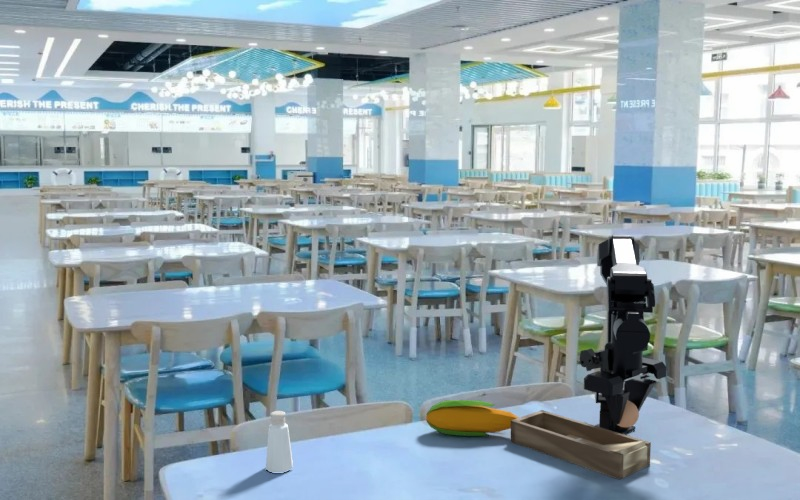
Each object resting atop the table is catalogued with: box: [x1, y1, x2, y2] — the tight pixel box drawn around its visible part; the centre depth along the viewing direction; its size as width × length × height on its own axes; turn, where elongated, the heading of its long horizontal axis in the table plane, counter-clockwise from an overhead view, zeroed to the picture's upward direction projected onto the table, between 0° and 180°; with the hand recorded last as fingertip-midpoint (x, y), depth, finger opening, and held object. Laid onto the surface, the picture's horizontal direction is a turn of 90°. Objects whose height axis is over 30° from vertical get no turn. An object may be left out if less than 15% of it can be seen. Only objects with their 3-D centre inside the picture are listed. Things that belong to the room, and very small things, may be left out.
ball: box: [617, 400, 640, 427], centre depth 153 cm, size 5×5×5 cm
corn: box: [425, 399, 520, 437], centre depth 173 cm, size 7×8×20 cm
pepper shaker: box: [265, 410, 294, 472], centre depth 155 cm, size 5×5×11 cm
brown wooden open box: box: [510, 409, 652, 480], centre depth 162 cm, size 10×26×5 cm, turn 41°
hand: (624, 420), depth 153 cm, fingers closed on ball, 5 cm apart
